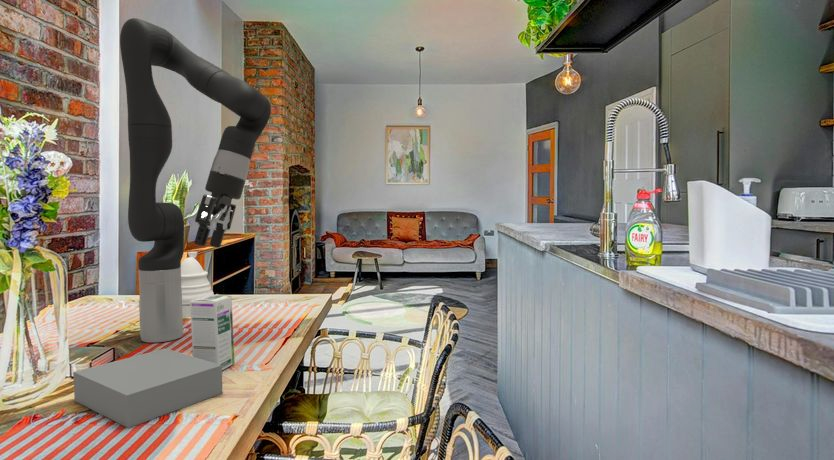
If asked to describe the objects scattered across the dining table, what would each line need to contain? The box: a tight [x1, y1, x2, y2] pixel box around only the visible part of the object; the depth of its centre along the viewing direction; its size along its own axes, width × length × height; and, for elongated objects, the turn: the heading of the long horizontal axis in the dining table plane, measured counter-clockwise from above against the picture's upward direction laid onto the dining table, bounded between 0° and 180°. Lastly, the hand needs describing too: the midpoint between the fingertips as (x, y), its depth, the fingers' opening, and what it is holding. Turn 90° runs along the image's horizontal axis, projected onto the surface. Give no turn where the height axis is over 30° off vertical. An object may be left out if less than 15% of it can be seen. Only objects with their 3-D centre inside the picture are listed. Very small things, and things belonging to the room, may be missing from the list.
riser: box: [72, 347, 224, 429], centre depth 86 cm, size 18×16×5 cm
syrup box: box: [190, 294, 235, 371], centre depth 100 cm, size 6×6×14 cm
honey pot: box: [181, 251, 215, 318], centre depth 149 cm, size 13×13×18 cm
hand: (207, 246), depth 107 cm, fingers open, 8 cm apart
